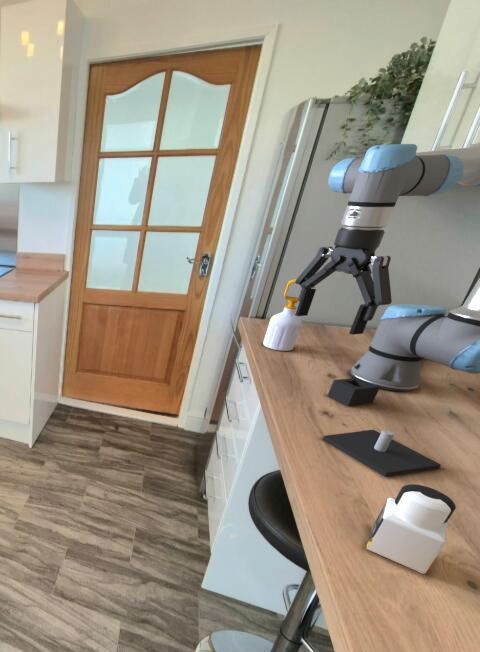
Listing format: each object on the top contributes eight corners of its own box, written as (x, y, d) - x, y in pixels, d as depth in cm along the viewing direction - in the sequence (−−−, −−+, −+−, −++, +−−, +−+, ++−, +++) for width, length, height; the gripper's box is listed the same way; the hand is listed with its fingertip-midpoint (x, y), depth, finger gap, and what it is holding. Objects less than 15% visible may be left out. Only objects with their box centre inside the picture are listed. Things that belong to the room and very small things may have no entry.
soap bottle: (293, 353, 148) (318, 282, 137) (262, 348, 152) (284, 279, 142) (292, 345, 155) (315, 277, 144) (262, 340, 159) (283, 274, 148)
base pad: (371, 433, 103) (381, 413, 100) (439, 468, 90) (451, 446, 88) (322, 439, 101) (331, 419, 98) (384, 476, 88) (396, 454, 86)
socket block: (350, 393, 121) (357, 377, 119) (372, 403, 116) (380, 387, 114) (327, 395, 120) (333, 379, 118) (347, 406, 115) (355, 389, 112)
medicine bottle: (371, 527, 76) (401, 473, 70) (427, 550, 71) (464, 494, 66) (365, 549, 71) (396, 493, 66) (424, 575, 67) (463, 517, 61)
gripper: (295, 222, 100) (269, 310, 110) (413, 236, 78) (367, 344, 88) (322, 221, 102) (294, 307, 111) (446, 234, 80) (397, 341, 89)
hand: (326, 324), depth 99 cm, fingers open, 13 cm apart
